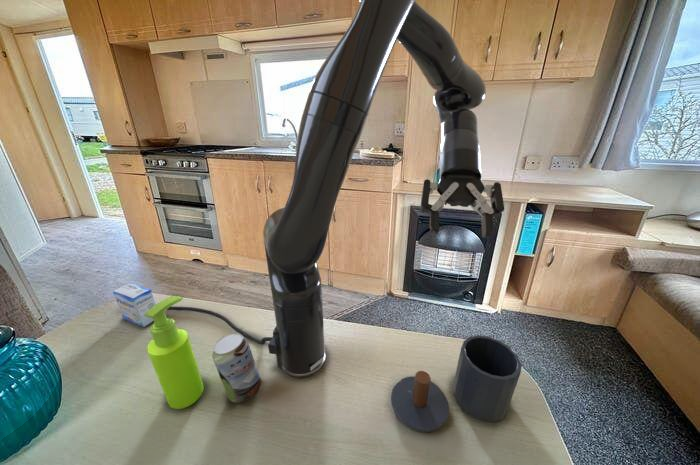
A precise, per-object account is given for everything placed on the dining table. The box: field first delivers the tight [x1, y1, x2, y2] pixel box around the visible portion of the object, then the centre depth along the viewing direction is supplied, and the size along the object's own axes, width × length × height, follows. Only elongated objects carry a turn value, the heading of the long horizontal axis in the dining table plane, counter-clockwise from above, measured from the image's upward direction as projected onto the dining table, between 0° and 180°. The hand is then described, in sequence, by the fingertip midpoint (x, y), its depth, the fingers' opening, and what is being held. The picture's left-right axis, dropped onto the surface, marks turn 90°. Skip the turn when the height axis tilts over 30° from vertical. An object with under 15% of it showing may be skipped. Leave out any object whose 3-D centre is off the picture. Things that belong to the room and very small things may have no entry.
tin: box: [452, 334, 523, 423], centre depth 49 cm, size 9×9×10 cm
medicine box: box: [112, 282, 157, 328], centre depth 69 cm, size 8×4×9 cm, turn 68°
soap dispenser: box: [144, 295, 205, 410], centre depth 48 cm, size 6×7×20 cm
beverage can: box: [211, 332, 262, 404], centre depth 50 cm, size 6×7×12 cm
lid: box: [390, 370, 450, 433], centre depth 49 cm, size 10×10×7 cm
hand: (460, 234), depth 49 cm, fingers open, 8 cm apart
